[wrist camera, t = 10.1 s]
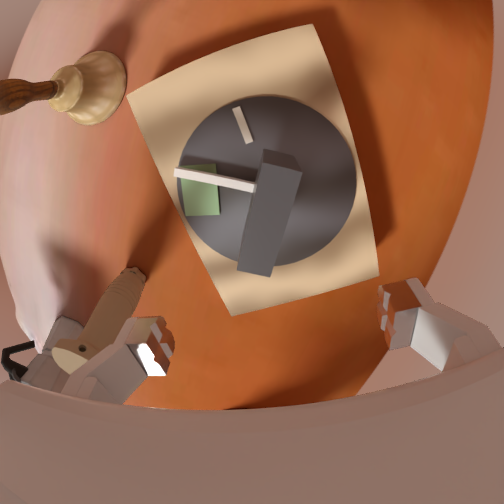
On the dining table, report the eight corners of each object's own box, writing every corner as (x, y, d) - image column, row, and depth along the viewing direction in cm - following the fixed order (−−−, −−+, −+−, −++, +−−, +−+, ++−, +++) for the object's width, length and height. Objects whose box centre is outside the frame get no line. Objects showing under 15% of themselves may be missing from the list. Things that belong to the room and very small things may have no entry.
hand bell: (129, 44, 20) (11, 19, 6) (126, 121, 24) (6, 158, 10) (65, 60, 20) (-50, 65, 6) (64, 129, 24) (-48, 172, 10)
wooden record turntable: (368, 255, 30) (380, 278, 26) (234, 293, 33) (231, 318, 30) (305, 34, 19) (313, 22, 16) (144, 95, 23) (124, 95, 19)
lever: (291, 151, 21) (302, 172, 15) (269, 230, 24) (270, 277, 18) (183, 128, 20) (149, 141, 14) (171, 209, 24) (140, 248, 18)
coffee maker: (112, 353, 42) (74, 442, 26) (88, 362, 44) (53, 439, 29) (50, 290, 36) (-11, 373, 20) (33, 307, 38) (-19, 379, 23)
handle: (114, 251, 31) (48, 339, 18) (162, 270, 32) (112, 370, 19) (111, 281, 34) (55, 368, 21) (155, 299, 35) (112, 395, 22)
